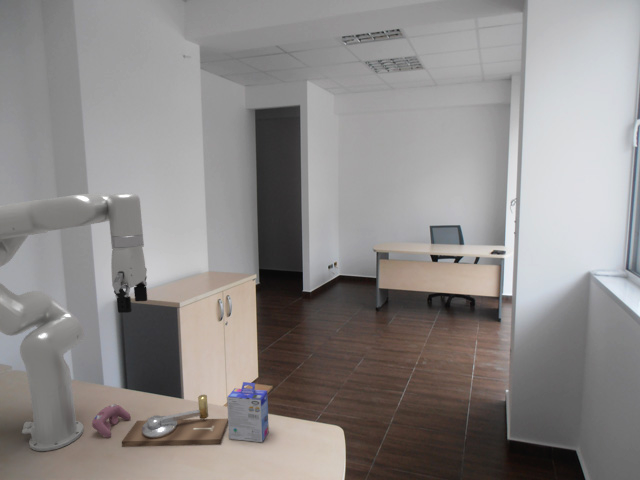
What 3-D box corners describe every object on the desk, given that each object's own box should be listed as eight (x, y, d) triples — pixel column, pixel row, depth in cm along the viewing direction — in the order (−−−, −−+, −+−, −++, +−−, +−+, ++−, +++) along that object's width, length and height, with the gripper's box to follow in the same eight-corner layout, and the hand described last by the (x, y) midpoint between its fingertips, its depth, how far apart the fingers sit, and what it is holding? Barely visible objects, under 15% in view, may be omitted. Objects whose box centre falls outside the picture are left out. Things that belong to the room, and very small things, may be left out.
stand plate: (122, 446, 110) (121, 441, 110) (137, 425, 120) (137, 420, 119) (220, 444, 110) (220, 438, 110) (228, 423, 120) (228, 418, 119)
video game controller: (121, 422, 124) (110, 402, 124) (133, 417, 123) (122, 396, 123) (98, 443, 114) (85, 421, 114) (110, 437, 113) (98, 415, 113)
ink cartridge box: (270, 431, 116) (267, 381, 114) (263, 443, 110) (261, 392, 108) (236, 427, 118) (233, 379, 115) (228, 439, 112) (225, 389, 110)
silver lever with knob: (141, 441, 109) (139, 417, 108) (142, 423, 118) (140, 400, 117) (209, 426, 115) (208, 403, 114) (206, 410, 124) (205, 388, 123)
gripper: (128, 237, 116) (133, 297, 118) (95, 247, 99) (102, 317, 101) (155, 237, 116) (160, 296, 118) (126, 247, 99) (133, 316, 101)
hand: (133, 306), depth 110 cm, fingers open, 9 cm apart
